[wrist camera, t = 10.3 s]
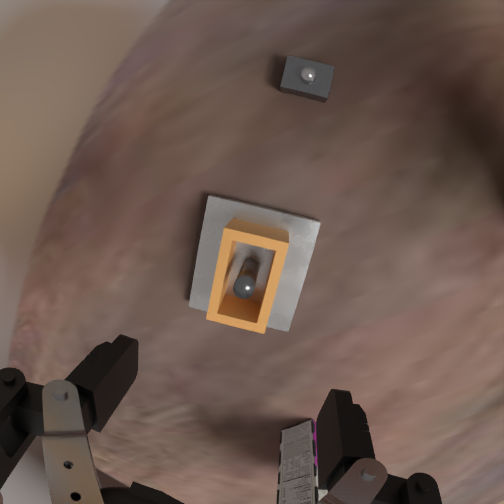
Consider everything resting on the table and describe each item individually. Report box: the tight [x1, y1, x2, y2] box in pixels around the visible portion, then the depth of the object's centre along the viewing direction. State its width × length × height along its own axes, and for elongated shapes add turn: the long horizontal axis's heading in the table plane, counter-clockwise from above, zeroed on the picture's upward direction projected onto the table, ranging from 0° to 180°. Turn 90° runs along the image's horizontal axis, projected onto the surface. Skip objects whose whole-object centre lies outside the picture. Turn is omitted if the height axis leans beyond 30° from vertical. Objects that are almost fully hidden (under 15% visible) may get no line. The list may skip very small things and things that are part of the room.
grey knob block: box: [280, 55, 334, 102], centre depth 23 cm, size 4×3×3 cm
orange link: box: [206, 218, 289, 334], centre depth 27 cm, size 5×8×4 cm, turn 167°
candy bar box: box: [277, 419, 328, 504], centre depth 28 cm, size 11×5×16 cm, turn 33°
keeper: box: [189, 194, 321, 332], centre depth 27 cm, size 10×11×6 cm
